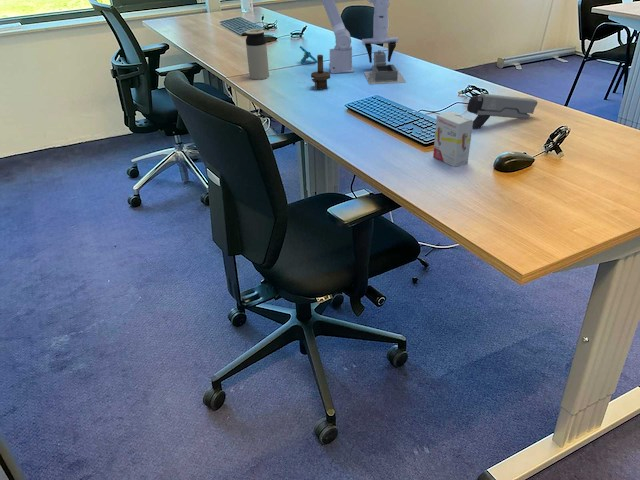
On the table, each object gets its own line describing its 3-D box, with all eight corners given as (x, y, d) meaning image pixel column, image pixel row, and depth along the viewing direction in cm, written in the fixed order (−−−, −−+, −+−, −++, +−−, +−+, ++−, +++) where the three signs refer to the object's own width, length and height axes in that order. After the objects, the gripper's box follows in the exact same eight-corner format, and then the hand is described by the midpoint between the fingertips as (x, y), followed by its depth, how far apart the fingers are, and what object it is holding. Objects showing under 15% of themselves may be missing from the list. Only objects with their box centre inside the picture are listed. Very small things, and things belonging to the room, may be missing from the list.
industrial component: (314, 91, 192) (312, 58, 186) (308, 86, 198) (306, 54, 192) (337, 88, 195) (337, 55, 188) (331, 83, 200) (330, 51, 194)
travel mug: (273, 76, 212) (269, 30, 202) (258, 81, 207) (253, 33, 197) (260, 73, 217) (255, 28, 207) (245, 77, 212) (240, 31, 202)
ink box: (431, 156, 139) (435, 114, 132) (445, 152, 141) (450, 110, 134) (454, 167, 132) (459, 123, 126) (468, 163, 134) (474, 119, 128)
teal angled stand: (320, 61, 224) (302, 45, 220) (311, 72, 225) (293, 56, 221) (316, 59, 234) (300, 43, 230) (308, 69, 235) (291, 54, 231)
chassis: (369, 84, 198) (369, 74, 196) (364, 73, 211) (364, 64, 209) (405, 82, 198) (406, 72, 196) (398, 71, 211) (398, 62, 209)
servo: (376, 72, 211) (376, 54, 207) (373, 66, 220) (373, 48, 216) (386, 72, 212) (386, 53, 208) (382, 66, 220) (382, 48, 216)
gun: (459, 125, 154) (469, 92, 150) (522, 130, 164) (533, 98, 160) (464, 128, 152) (474, 94, 148) (527, 132, 162) (539, 100, 158)
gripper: (363, 29, 203) (363, 65, 210) (400, 27, 203) (398, 63, 211) (361, 26, 209) (361, 61, 216) (397, 24, 209) (395, 59, 217)
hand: (379, 61), depth 214 cm, fingers open, 7 cm apart
